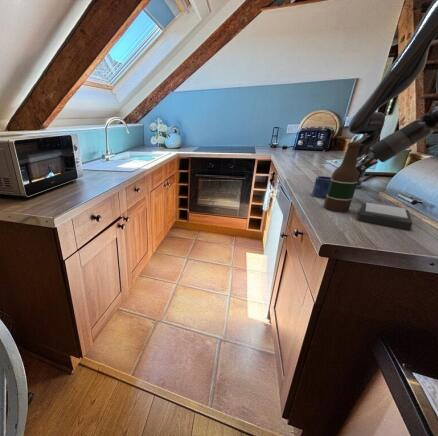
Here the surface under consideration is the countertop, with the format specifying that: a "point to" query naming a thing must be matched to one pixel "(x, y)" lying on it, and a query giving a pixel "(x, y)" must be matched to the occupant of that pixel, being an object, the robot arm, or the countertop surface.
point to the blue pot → (321, 186)
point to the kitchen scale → (385, 215)
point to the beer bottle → (343, 181)
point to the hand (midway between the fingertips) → (342, 174)
